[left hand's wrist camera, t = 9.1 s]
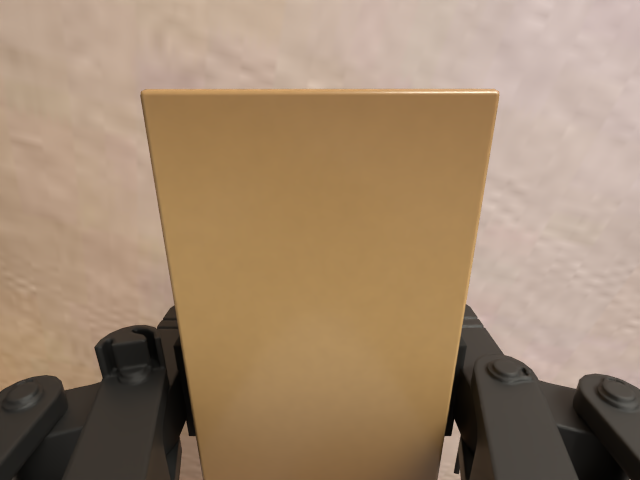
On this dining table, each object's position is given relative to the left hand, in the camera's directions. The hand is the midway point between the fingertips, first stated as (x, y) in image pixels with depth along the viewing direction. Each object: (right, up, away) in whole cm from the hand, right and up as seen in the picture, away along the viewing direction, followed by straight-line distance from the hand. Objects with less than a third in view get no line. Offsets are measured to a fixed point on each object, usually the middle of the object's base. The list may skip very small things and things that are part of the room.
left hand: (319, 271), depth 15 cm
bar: (0, -19, +8) cm, 21 cm away
